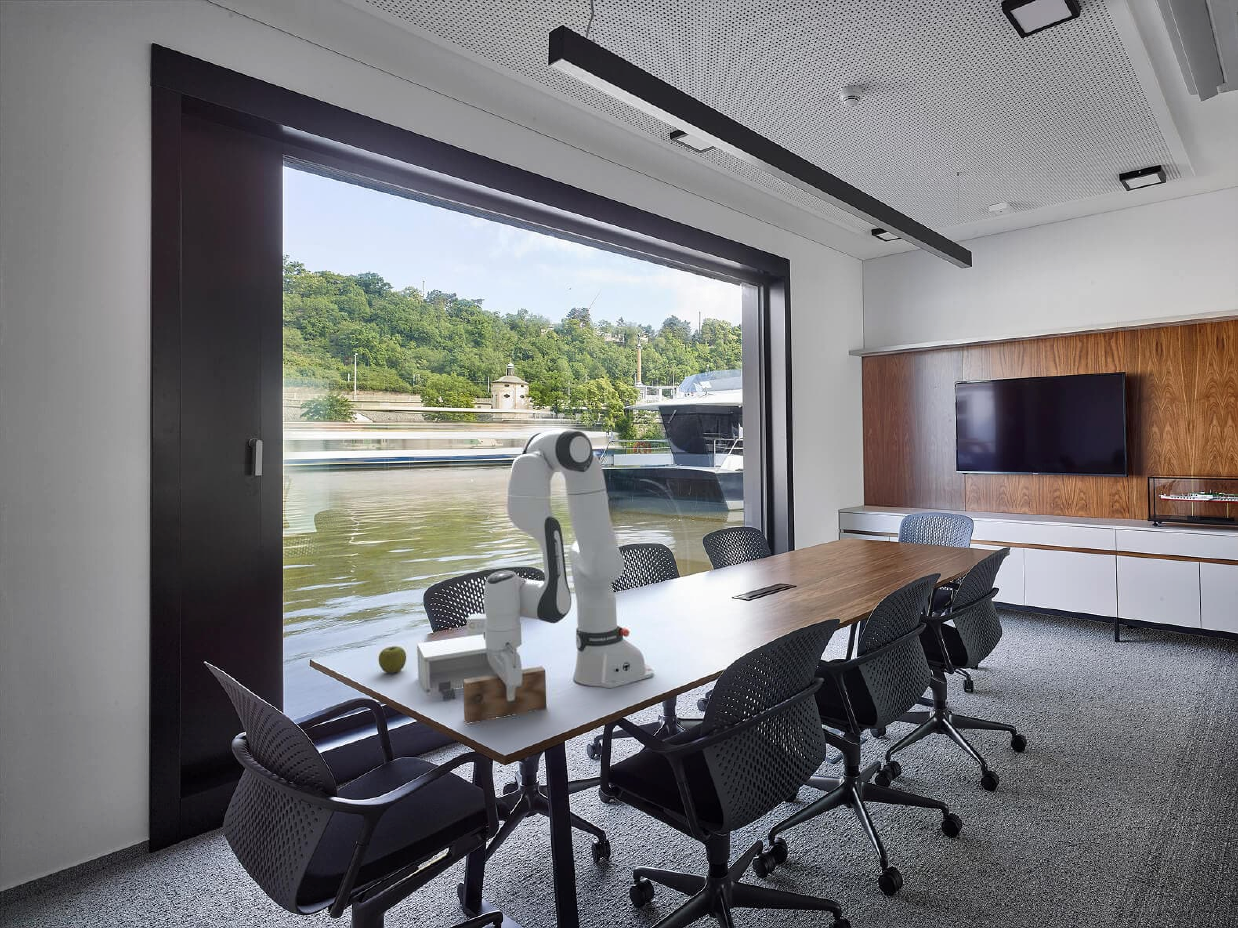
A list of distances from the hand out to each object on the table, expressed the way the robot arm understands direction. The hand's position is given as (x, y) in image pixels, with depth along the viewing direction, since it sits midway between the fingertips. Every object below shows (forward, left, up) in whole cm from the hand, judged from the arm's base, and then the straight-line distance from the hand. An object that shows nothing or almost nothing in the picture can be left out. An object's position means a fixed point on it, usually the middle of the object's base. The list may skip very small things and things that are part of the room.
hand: (505, 693), depth 174 cm
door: (0, 0, -5) cm, 5 cm away
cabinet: (+5, -27, -5) cm, 28 cm away
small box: (-5, -47, -5) cm, 48 cm away
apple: (+22, -46, -5) cm, 51 cm away
